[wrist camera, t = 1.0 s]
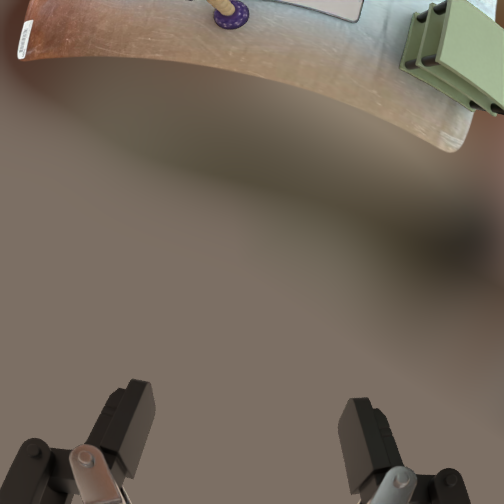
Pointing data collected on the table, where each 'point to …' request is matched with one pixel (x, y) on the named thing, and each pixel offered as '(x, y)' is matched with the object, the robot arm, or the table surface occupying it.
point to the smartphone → (332, 7)
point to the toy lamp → (229, 13)
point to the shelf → (458, 54)
